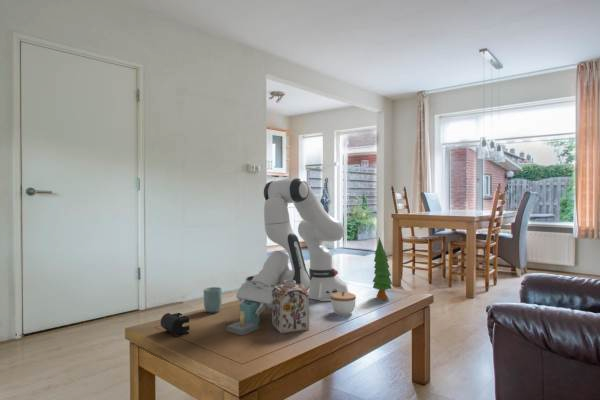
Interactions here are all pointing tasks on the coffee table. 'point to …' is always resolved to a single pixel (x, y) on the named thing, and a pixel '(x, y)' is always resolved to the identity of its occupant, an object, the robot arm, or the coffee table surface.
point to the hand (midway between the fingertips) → (248, 312)
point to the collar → (250, 311)
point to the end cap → (175, 323)
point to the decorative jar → (290, 307)
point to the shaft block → (242, 326)
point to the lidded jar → (343, 303)
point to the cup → (212, 299)
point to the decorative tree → (381, 272)
